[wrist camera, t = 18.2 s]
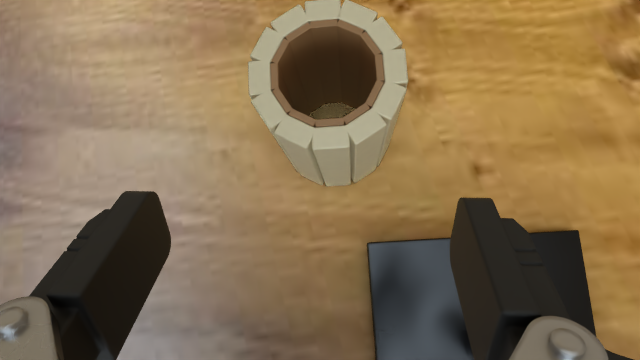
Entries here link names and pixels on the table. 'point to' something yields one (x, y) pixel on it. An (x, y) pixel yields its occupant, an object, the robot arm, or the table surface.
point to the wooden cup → (329, 87)
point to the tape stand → (452, 294)
